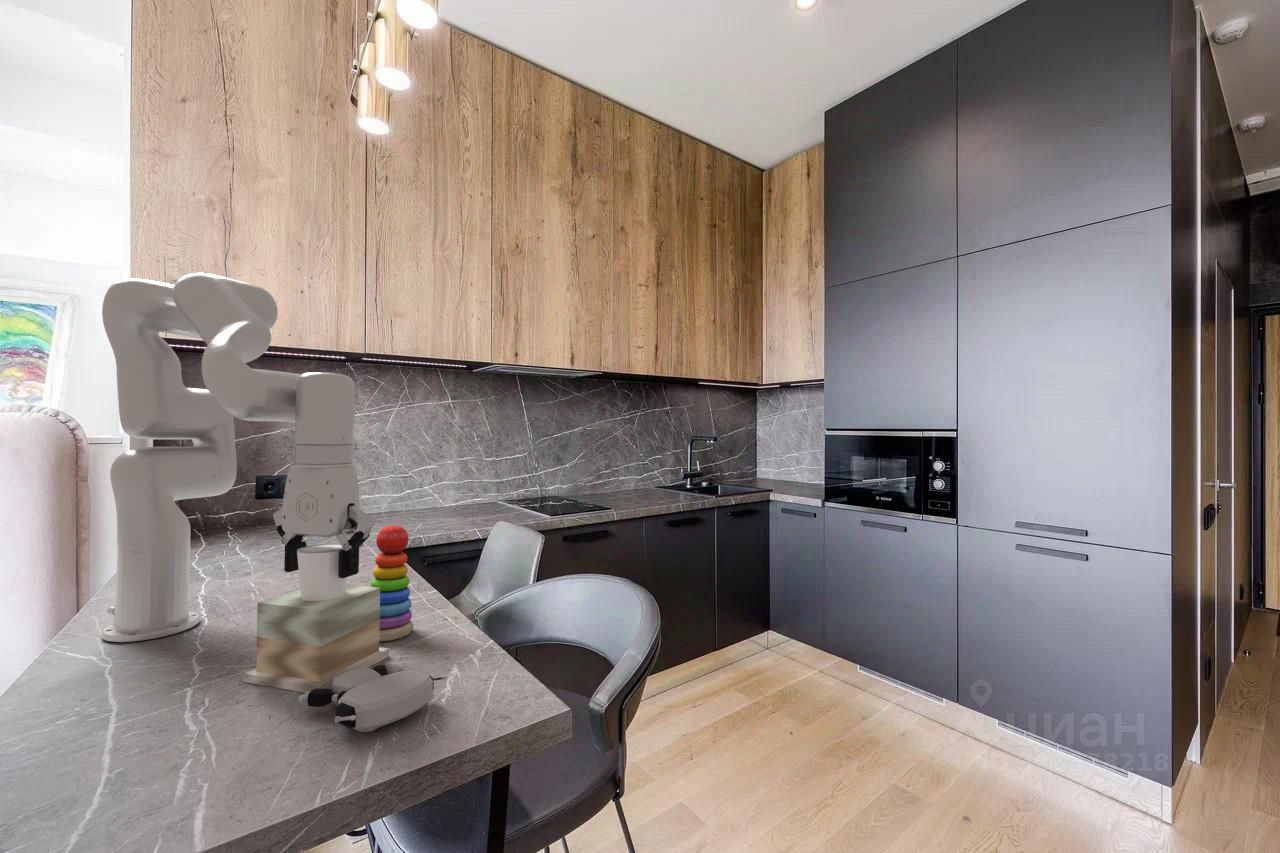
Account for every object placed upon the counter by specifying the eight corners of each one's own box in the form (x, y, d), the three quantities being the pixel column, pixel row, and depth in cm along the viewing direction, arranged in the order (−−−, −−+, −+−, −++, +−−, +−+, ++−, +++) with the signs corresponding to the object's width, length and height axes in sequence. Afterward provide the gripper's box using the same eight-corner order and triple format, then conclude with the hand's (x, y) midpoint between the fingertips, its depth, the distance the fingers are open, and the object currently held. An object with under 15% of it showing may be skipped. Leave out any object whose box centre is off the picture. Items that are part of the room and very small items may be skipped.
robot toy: (290, 723, 67) (357, 755, 59) (289, 685, 67) (356, 712, 59) (384, 685, 77) (452, 707, 69) (383, 652, 77) (451, 671, 69)
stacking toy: (393, 645, 89) (395, 530, 89) (351, 641, 90) (353, 528, 91) (422, 628, 96) (424, 522, 97) (382, 624, 98) (384, 520, 98)
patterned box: (243, 681, 75) (245, 603, 75) (321, 646, 88) (322, 579, 88) (319, 695, 72) (321, 613, 72) (389, 656, 84) (390, 586, 85)
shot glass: (360, 592, 81) (360, 545, 82) (315, 605, 75) (316, 554, 75) (330, 586, 84) (331, 540, 85) (285, 597, 78) (286, 549, 78)
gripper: (254, 456, 79) (251, 574, 79) (353, 460, 74) (350, 585, 74) (299, 454, 86) (296, 562, 86) (391, 457, 82) (388, 571, 81)
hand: (321, 572), depth 80 cm, fingers open, 9 cm apart
